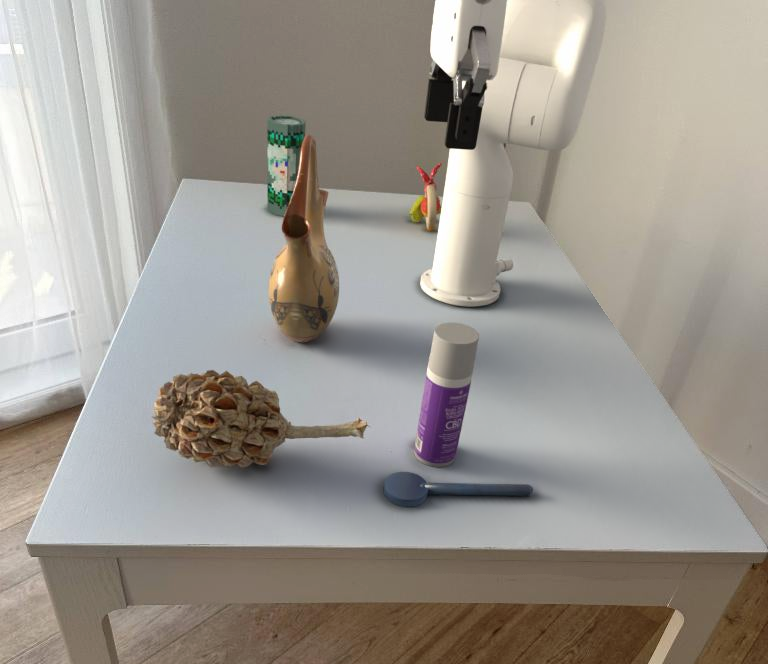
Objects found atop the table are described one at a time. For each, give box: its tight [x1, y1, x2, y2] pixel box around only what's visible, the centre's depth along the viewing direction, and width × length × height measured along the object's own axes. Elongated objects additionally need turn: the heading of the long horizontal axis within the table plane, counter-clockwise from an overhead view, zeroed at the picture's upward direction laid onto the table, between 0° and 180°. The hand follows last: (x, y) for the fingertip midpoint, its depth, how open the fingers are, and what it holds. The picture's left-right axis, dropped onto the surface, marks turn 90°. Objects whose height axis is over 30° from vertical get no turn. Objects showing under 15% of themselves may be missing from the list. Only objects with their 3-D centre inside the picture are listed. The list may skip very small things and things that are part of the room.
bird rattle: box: [408, 162, 443, 232], centre depth 132 cm, size 6×11×9 cm
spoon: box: [383, 471, 534, 508], centre depth 77 cm, size 16×5×1 cm, turn 96°
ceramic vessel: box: [268, 134, 340, 343], centre depth 91 cm, size 16×9×25 cm, turn 175°
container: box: [413, 321, 480, 468], centre depth 77 cm, size 5×5×15 cm
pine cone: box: [151, 369, 371, 468], centre depth 75 cm, size 22×10×10 cm, turn 98°
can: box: [266, 114, 306, 217], centre depth 129 cm, size 6×6×15 cm
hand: (448, 134), depth 78 cm, fingers open, 9 cm apart
